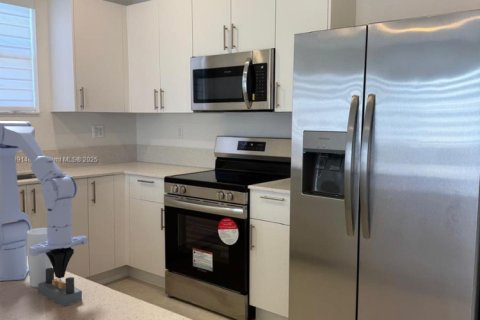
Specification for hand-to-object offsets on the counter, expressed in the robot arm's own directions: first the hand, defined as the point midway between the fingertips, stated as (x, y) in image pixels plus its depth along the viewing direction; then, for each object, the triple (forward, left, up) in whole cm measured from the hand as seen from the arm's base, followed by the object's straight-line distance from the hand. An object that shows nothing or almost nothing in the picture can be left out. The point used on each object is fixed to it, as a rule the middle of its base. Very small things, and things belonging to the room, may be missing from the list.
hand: (59, 276), depth 107 cm
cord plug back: (-4, -3, -3) cm, 6 cm away
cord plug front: (+4, +3, -3) cm, 6 cm away
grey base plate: (0, 0, -5) cm, 5 cm away
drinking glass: (-9, -6, -5) cm, 12 cm away
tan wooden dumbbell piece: (0, 0, -2) cm, 2 cm away
